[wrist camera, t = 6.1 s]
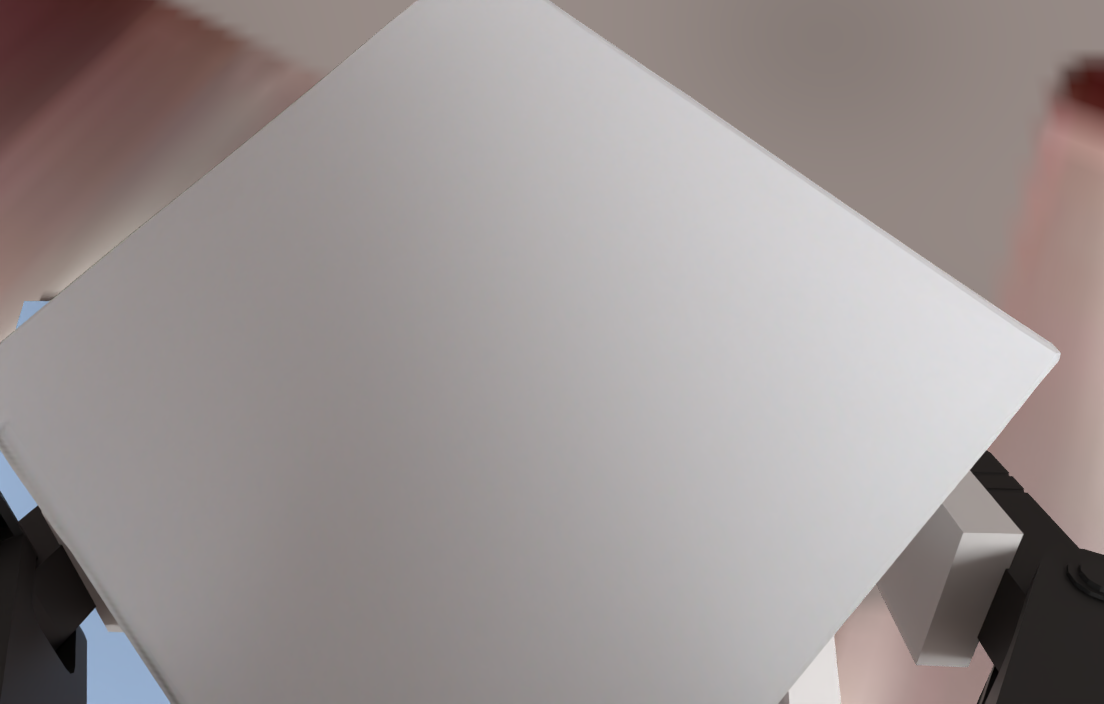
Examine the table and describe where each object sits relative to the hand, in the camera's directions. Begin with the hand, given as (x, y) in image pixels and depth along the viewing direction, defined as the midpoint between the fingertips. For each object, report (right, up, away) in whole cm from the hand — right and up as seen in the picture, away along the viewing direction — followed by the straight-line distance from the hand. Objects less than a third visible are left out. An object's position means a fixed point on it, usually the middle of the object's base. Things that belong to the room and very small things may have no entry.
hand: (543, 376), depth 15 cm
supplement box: (+1, -5, +8) cm, 9 cm away
